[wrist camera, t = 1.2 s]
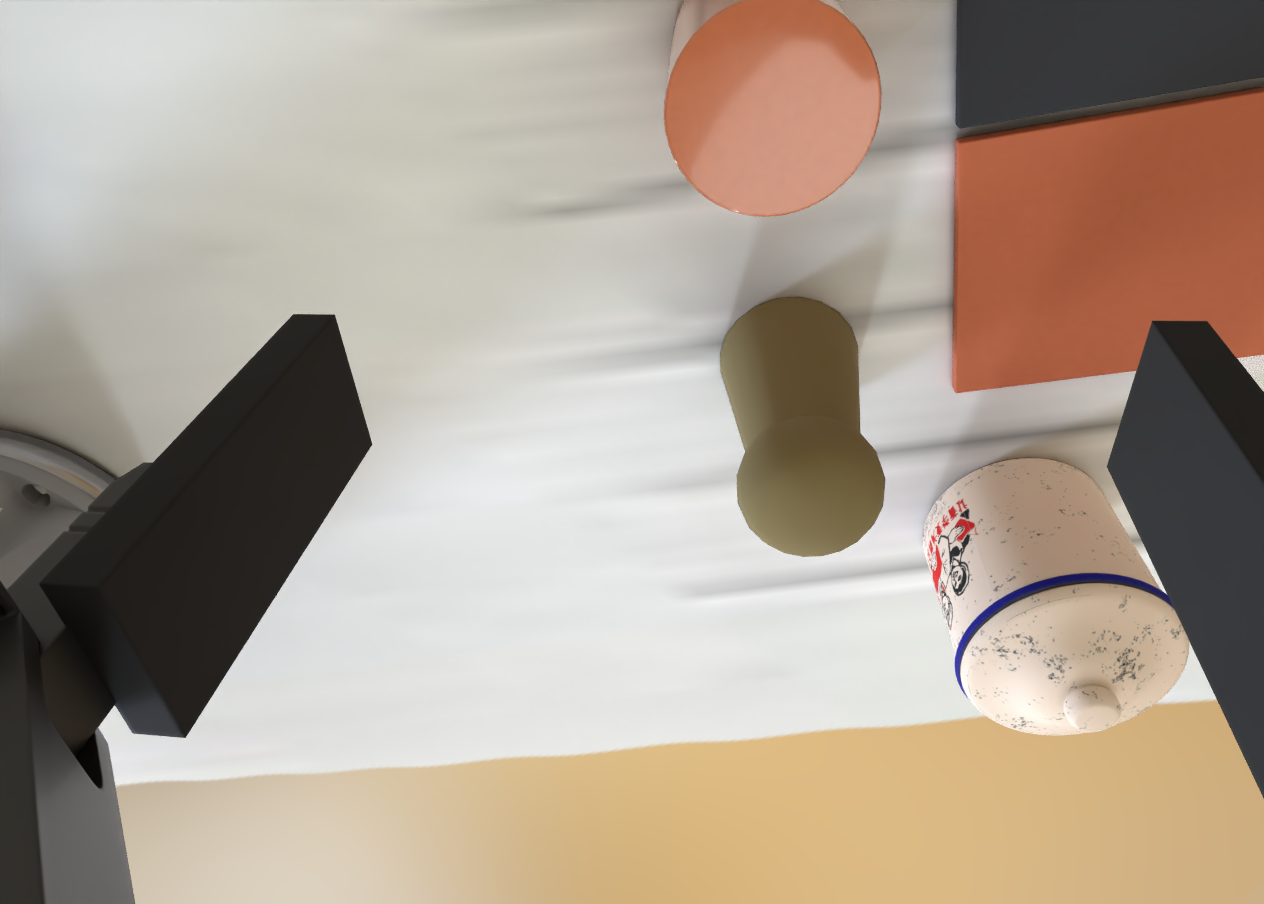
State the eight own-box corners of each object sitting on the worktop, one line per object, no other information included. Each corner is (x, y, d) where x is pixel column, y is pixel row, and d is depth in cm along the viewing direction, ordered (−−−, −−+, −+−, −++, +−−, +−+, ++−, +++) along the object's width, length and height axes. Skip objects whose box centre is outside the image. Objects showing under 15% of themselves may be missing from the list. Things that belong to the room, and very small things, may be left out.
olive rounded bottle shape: (820, 271, 37) (859, 415, 28) (880, 380, 40) (934, 542, 31) (694, 338, 39) (693, 492, 30) (759, 437, 42) (776, 604, 33)
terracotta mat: (952, 386, 40) (955, 393, 39) (955, 138, 34) (958, 142, 33) (1298, 343, 37) (1305, 350, 37) (1368, 68, 31) (1379, 72, 31)
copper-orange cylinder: (686, 144, 34) (681, 232, 27) (658, -28, 31) (646, 18, 24) (844, 117, 33) (885, 199, 26) (834, -65, 30) (878, -29, 23)
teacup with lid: (910, 465, 42) (971, 652, 33) (1116, 435, 41) (1243, 623, 31) (923, 639, 49) (977, 837, 39) (1100, 620, 47) (1201, 821, 38)
